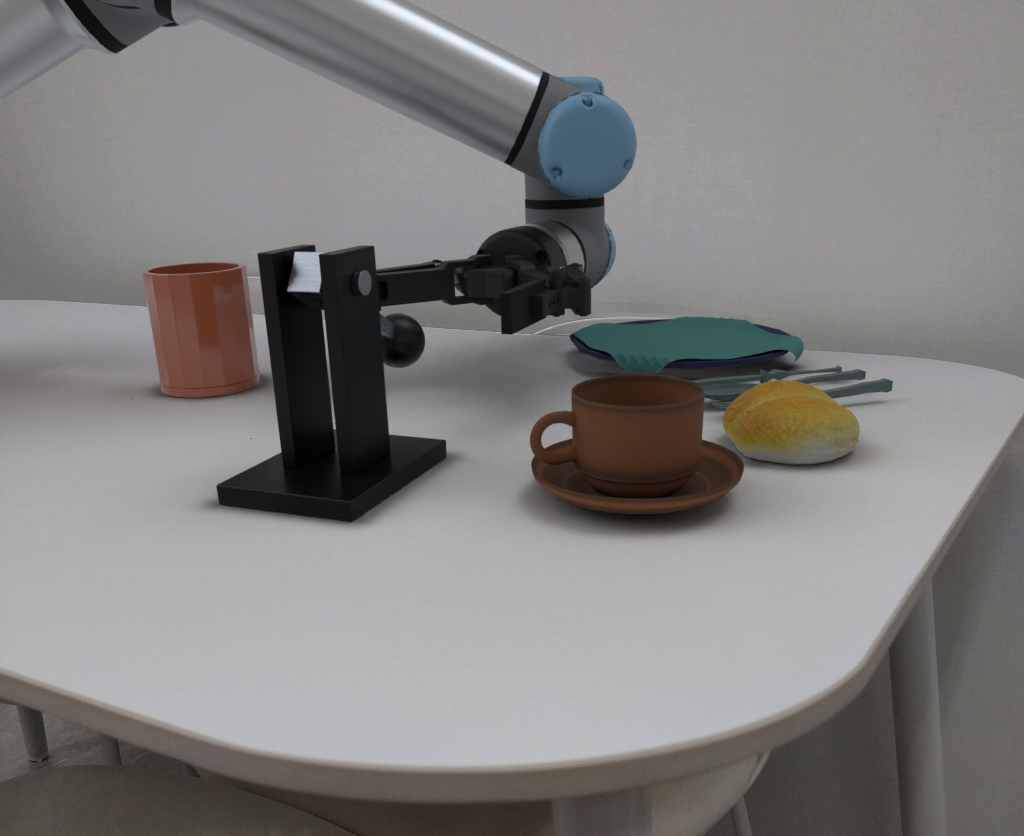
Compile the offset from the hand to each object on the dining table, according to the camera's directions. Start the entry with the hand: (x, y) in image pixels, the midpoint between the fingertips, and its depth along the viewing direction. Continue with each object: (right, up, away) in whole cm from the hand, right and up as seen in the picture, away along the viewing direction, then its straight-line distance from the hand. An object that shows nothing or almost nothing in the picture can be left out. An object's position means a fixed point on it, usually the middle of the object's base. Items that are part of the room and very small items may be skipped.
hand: (414, 310), depth 66 cm
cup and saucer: (+14, -13, -10) cm, 22 cm away
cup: (-19, -3, +18) cm, 26 cm away
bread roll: (+25, -10, -3) cm, 27 cm away
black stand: (-4, -12, -7) cm, 14 cm away
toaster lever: (-3, -3, -6) cm, 8 cm away
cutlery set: (+24, -2, +18) cm, 30 cm away
